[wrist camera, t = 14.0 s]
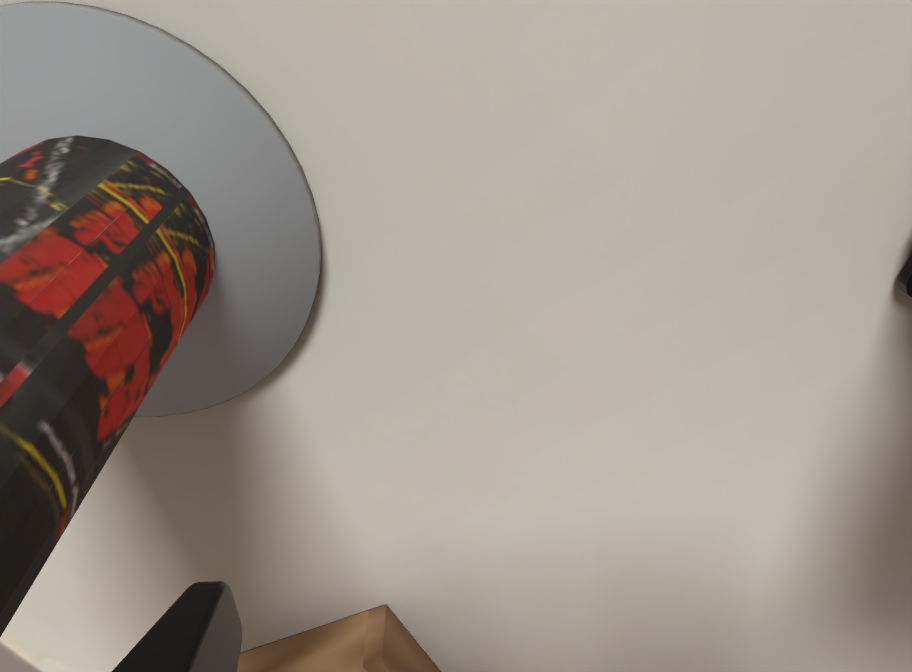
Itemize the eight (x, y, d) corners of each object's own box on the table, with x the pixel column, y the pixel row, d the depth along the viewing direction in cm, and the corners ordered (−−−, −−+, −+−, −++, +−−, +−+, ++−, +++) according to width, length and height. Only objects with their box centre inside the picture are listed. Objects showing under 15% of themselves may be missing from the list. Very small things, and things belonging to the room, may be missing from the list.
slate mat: (344, 58, 18) (341, 62, 17) (302, 429, 24) (299, 441, 23) (-176, -50, 16) (-196, -48, 16) (-80, 374, 22) (-93, 384, 22)
